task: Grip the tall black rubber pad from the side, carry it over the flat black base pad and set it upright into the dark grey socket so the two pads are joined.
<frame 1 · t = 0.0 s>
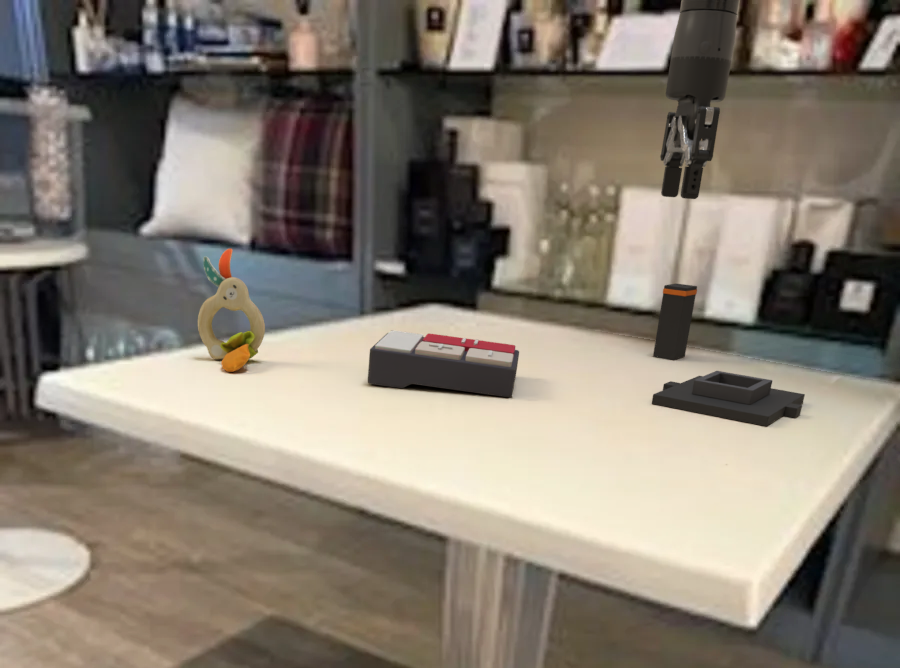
hand: (678, 197, 118), 19 cm above the table, tool pointing down, fingers open, 8 cm apart
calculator: (445, 382, 95), on the table
standing pad: (668, 356, 117), on the table
rattle: (225, 365, 95), on the table
base pad: (729, 403, 93), on the table
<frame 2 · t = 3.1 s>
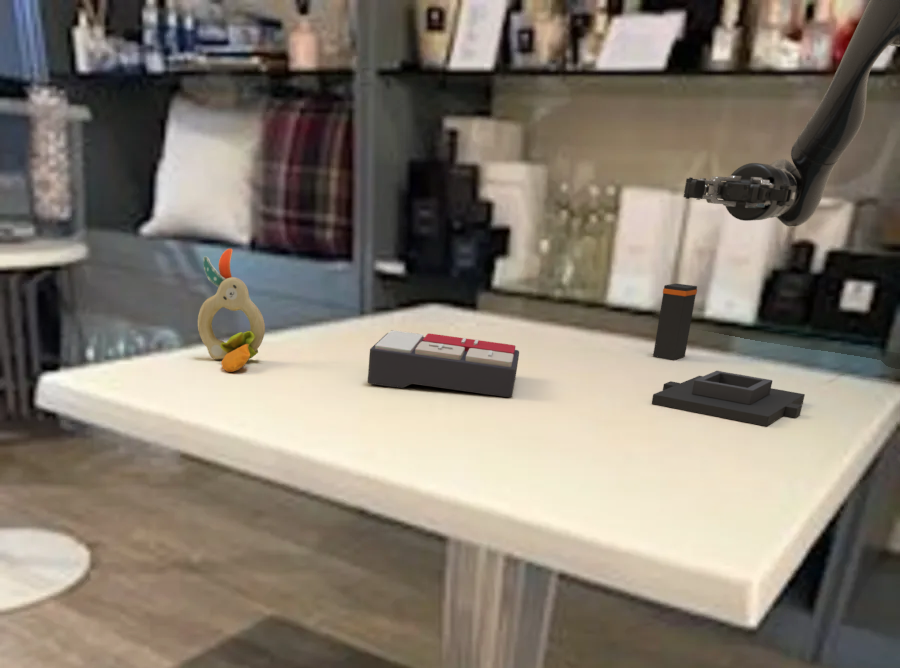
hand: (723, 191, 116), 20 cm above the table, tool horizontal, fingers open, 8 cm apart
nothing on the table moved.
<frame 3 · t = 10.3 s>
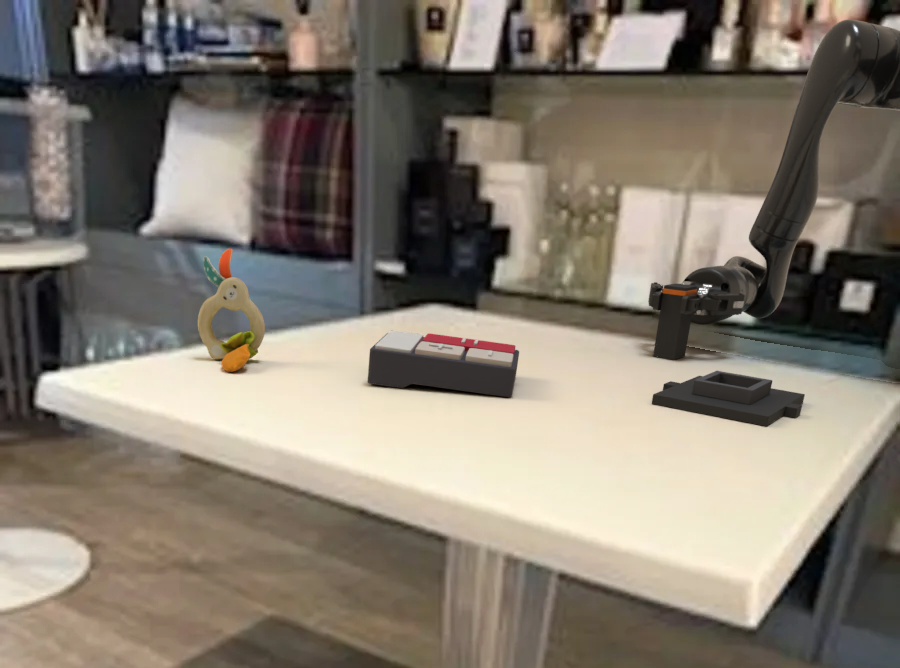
hand: (670, 303, 112), 7 cm above the table, tool horizontal, fingers closed on standing pad, 3 cm apart
standing pad: (669, 356, 117), on the table, touching gripper
everything else where it was.
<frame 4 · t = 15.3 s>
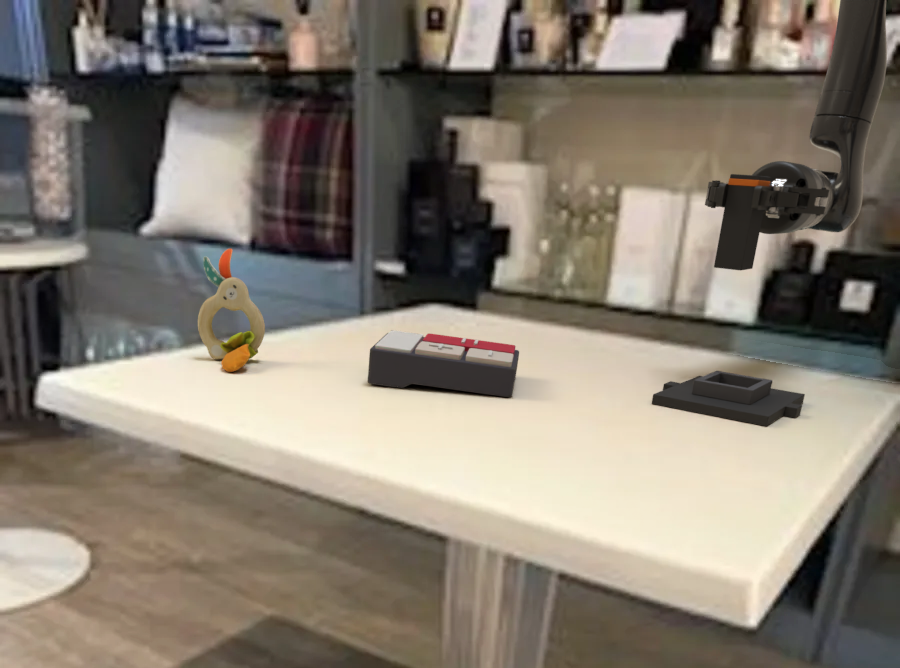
hand: (738, 196, 89), 20 cm above the table, tool horizontal, fingers closed on standing pad, 3 cm apart
standing pad: (733, 268, 94), point 13 cm above the table, touching gripper
everything else where it was.
when the fingers open (8 cm above the table, at t = 20.2 s): standing pad stays where it is, resting on base pad.
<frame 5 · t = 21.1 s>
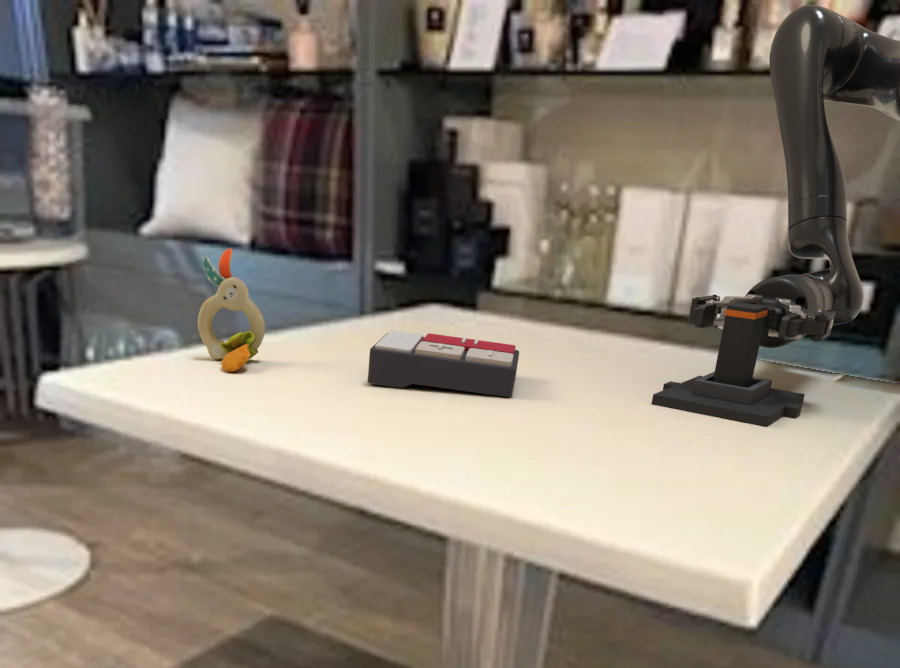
hand: (740, 323, 88), 8 cm above the table, tool horizontal, fingers open, 8 cm apart
standing pad: (729, 393, 93), point 1 cm above the table, touching base pad
everything else where it was.
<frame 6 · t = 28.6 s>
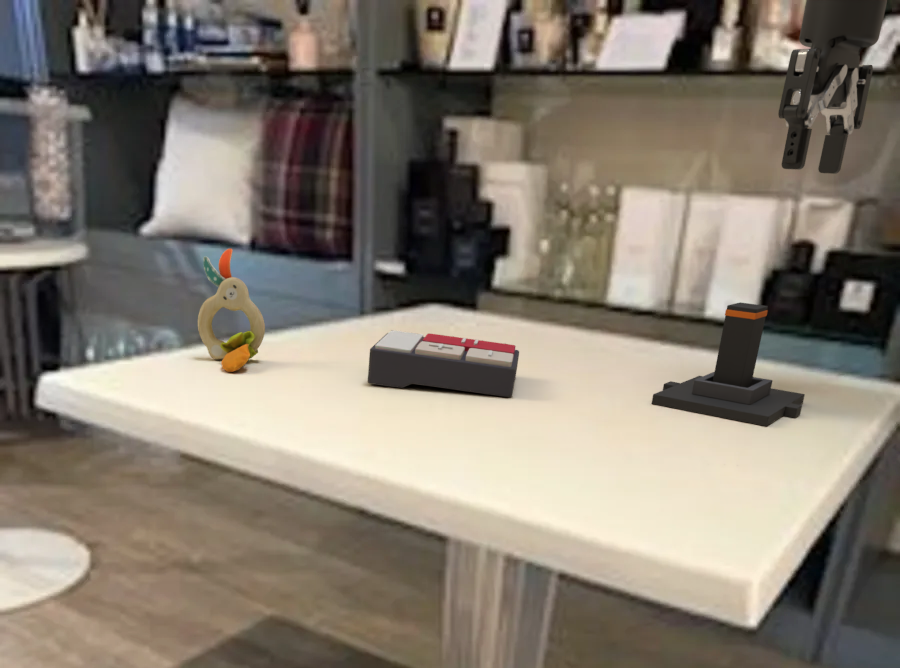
hand: (810, 171, 93), 23 cm above the table, tool pointing down, fingers open, 8 cm apart
nothing on the table moved.
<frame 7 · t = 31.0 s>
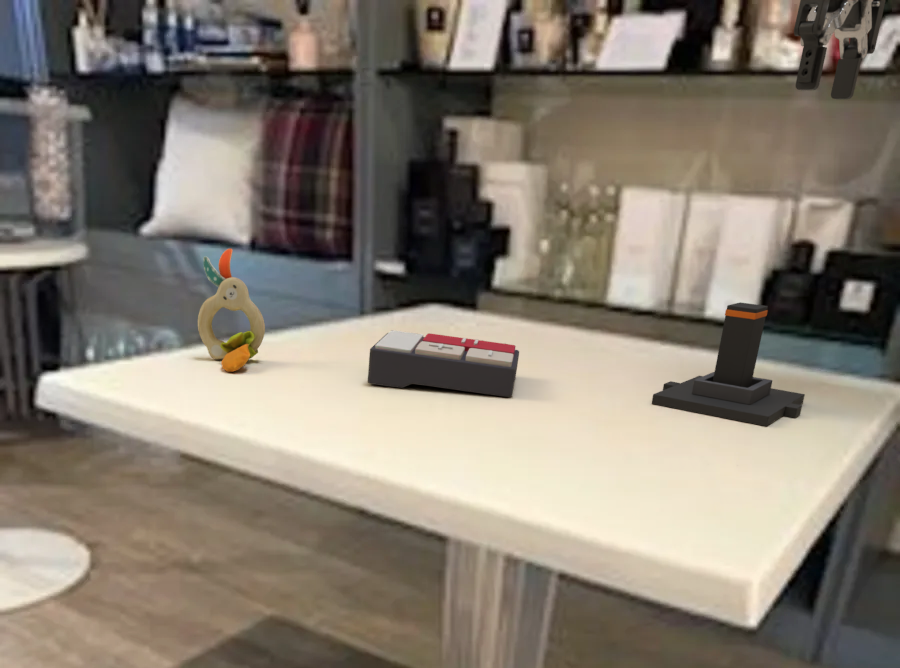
hand: (824, 94, 92), 30 cm above the table, tool pointing down, fingers open, 8 cm apart
nothing on the table moved.
at the end: standing pad 0.1 cm off-centre on the base pad, point 1.0 cm above the base pad's base; standing pad tilted 0°; the gripper is holding nothing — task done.
